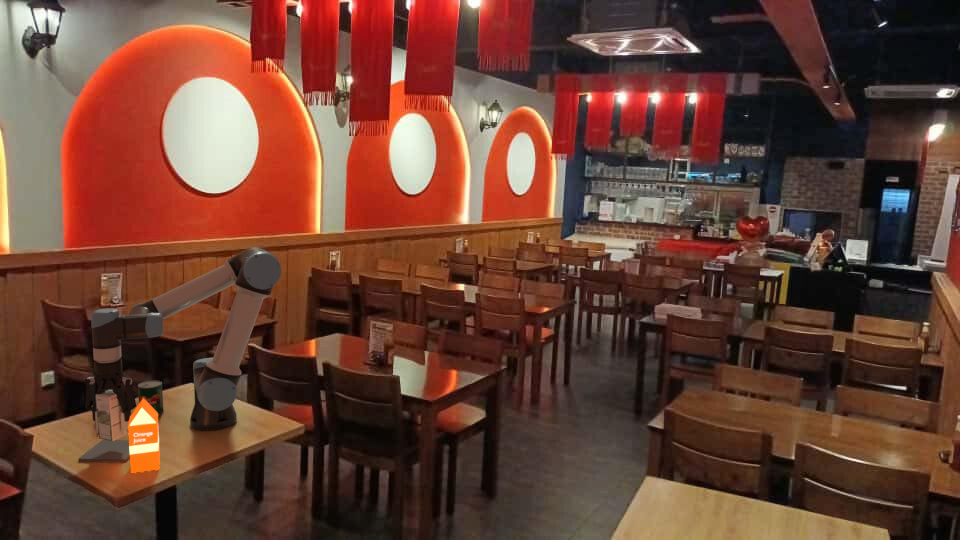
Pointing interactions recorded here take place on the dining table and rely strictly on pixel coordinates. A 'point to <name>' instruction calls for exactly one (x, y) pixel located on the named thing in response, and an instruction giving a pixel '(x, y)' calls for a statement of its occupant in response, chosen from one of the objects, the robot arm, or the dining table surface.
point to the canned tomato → (152, 394)
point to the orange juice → (144, 438)
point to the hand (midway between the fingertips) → (112, 430)
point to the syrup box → (109, 416)
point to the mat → (108, 452)
